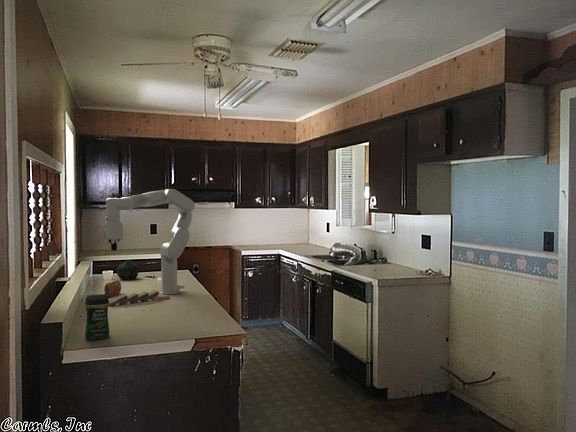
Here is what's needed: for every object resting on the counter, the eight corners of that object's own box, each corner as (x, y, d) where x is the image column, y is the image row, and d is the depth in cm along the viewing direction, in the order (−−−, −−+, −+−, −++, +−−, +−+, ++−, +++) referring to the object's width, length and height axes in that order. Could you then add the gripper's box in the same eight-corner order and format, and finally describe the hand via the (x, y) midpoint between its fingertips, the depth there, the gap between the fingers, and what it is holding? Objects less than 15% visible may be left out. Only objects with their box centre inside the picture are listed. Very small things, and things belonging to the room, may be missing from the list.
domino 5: (149, 299, 282) (166, 298, 289) (153, 300, 279) (169, 299, 285) (150, 295, 282) (166, 294, 289) (153, 297, 279) (170, 296, 285)
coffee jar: (86, 342, 202) (85, 297, 201) (84, 337, 209) (83, 294, 208) (111, 339, 206) (110, 295, 205) (108, 334, 213) (107, 292, 212)
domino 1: (107, 305, 267) (124, 297, 273) (111, 307, 263) (128, 298, 269) (106, 302, 267) (123, 293, 272) (109, 303, 263) (126, 295, 269)
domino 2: (118, 303, 271) (135, 295, 277) (122, 305, 267) (138, 297, 273) (117, 300, 270) (134, 292, 276) (120, 302, 267) (137, 293, 272)
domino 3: (129, 302, 275) (145, 294, 281) (132, 303, 271) (149, 295, 277) (128, 299, 274) (144, 291, 280) (131, 300, 270) (148, 292, 276)
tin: (108, 297, 290) (108, 283, 289) (103, 297, 290) (103, 283, 290) (121, 293, 304) (121, 279, 304) (117, 292, 305) (116, 279, 305)
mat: (150, 299, 286) (150, 298, 286) (158, 302, 277) (158, 301, 277) (94, 306, 266) (94, 305, 266) (101, 310, 257) (101, 309, 257)
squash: (125, 269, 365) (119, 256, 355) (144, 270, 362) (138, 257, 352) (117, 284, 355) (110, 271, 345) (136, 286, 352) (130, 272, 342)
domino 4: (140, 300, 279) (155, 293, 285) (143, 302, 275) (159, 294, 281) (138, 297, 278) (154, 290, 284) (142, 299, 274) (158, 291, 280)
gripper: (102, 220, 278) (103, 252, 278) (128, 218, 287) (129, 249, 288) (98, 219, 283) (98, 251, 284) (123, 218, 293) (124, 248, 294)
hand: (114, 250), depth 286 cm, fingers closed
